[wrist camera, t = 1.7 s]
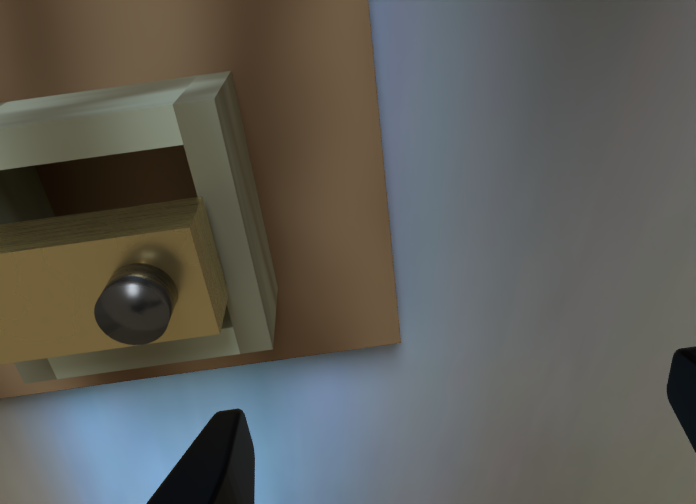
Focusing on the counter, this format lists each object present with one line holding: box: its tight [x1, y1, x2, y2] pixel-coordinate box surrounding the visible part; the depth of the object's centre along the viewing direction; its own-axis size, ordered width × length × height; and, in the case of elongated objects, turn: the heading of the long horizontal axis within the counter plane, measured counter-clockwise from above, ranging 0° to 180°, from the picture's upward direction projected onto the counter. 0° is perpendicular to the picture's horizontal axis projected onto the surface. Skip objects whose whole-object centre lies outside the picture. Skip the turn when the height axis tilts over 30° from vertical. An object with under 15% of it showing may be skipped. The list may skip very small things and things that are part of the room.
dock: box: [0, 0, 401, 398], centre depth 17 cm, size 20×14×5 cm
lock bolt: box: [0, 197, 229, 364], centre depth 14 cm, size 6×3×3 cm, turn 97°
